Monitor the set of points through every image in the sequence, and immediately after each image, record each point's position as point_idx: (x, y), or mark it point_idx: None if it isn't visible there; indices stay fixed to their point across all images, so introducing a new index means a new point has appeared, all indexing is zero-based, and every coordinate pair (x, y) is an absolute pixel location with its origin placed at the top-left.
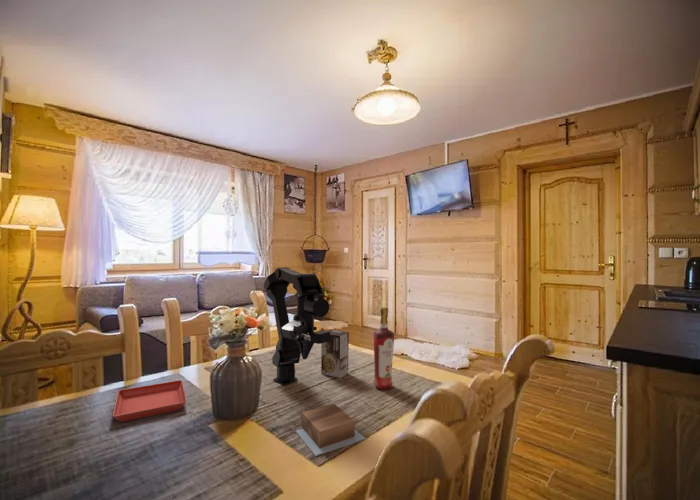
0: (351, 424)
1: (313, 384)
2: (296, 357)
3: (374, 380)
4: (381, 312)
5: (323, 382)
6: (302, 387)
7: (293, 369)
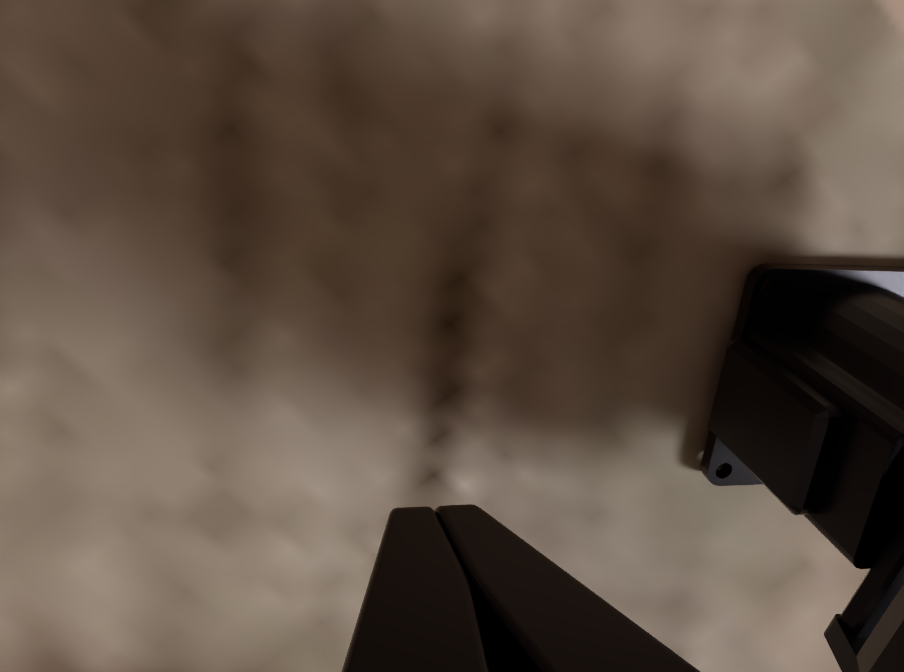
0: None
1: None
2: (890, 643)
3: None
4: None
5: None
6: (515, 371)
7: (803, 486)
